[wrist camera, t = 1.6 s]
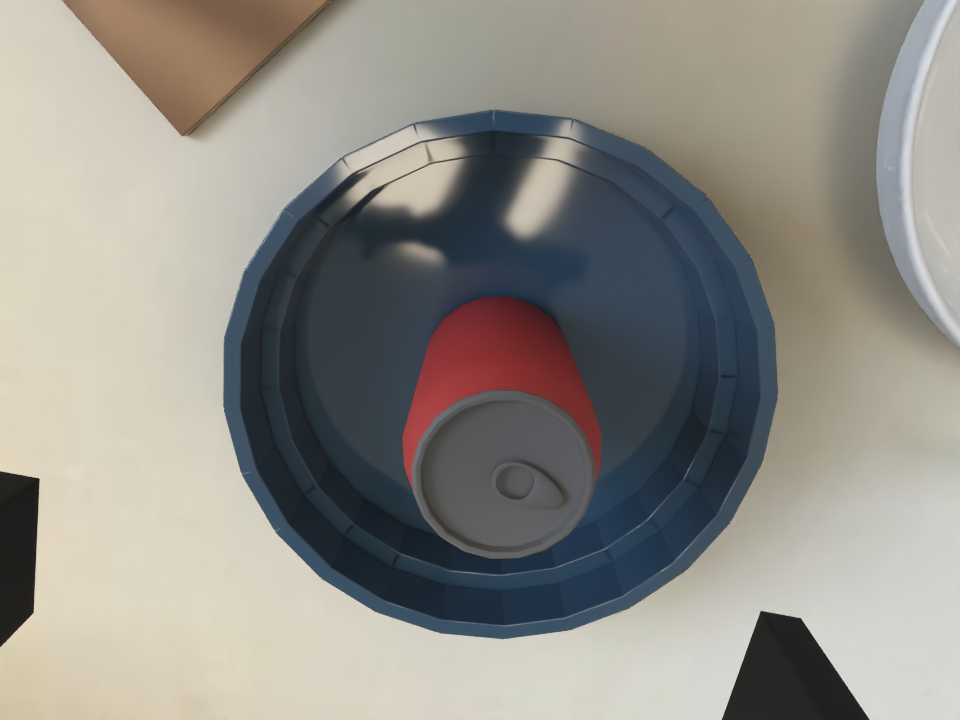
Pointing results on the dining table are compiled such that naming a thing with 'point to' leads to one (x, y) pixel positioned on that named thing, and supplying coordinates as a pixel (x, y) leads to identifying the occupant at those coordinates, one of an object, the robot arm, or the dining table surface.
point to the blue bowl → (520, 275)
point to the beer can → (501, 431)
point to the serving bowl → (925, 163)
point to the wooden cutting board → (193, 46)
